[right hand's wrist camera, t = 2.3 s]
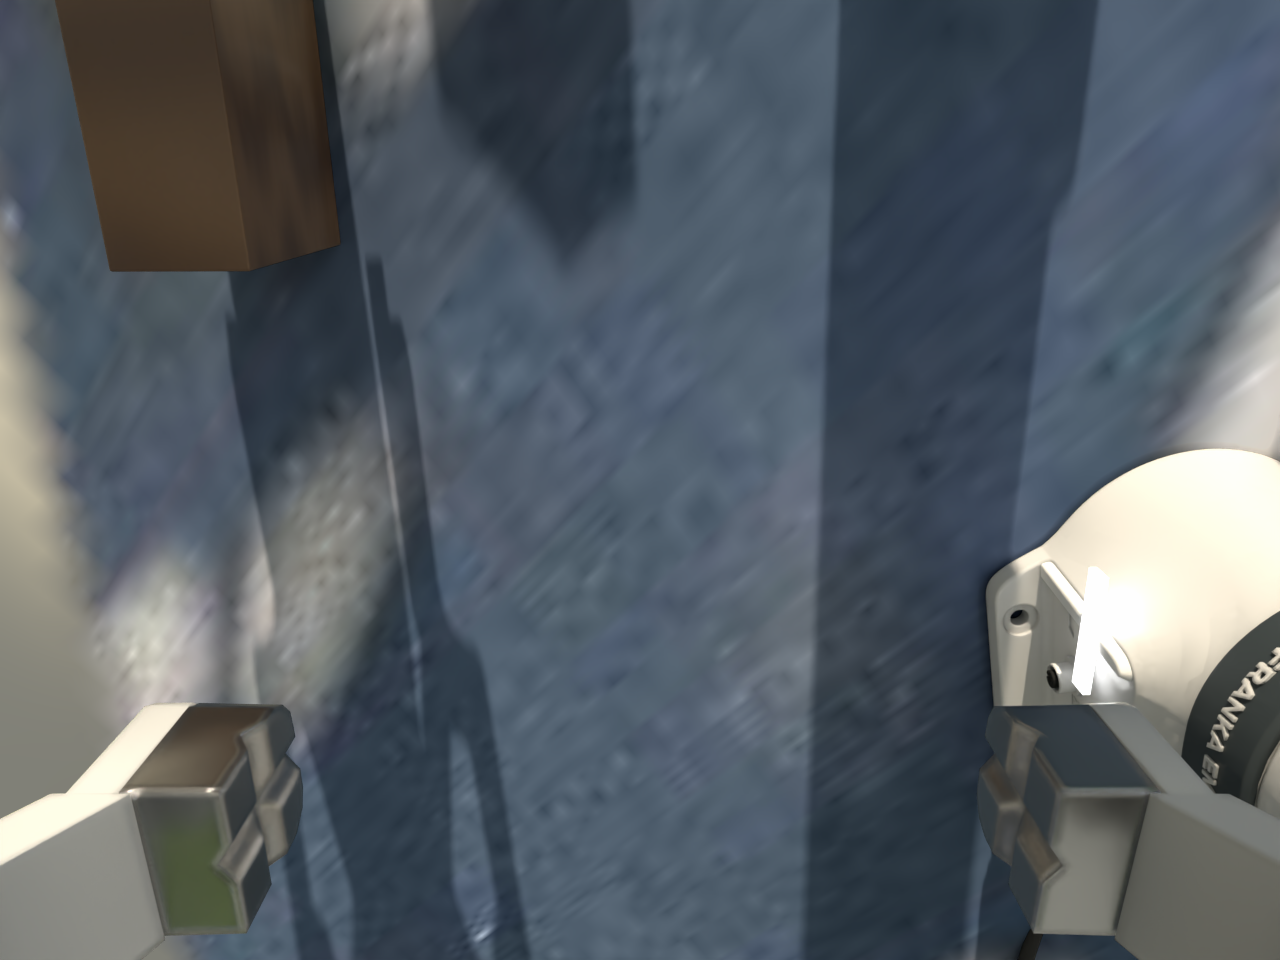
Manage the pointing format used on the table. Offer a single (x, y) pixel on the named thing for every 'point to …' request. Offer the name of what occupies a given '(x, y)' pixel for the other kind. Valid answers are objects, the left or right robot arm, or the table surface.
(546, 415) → the table surface
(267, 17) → the bar
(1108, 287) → the table surface
